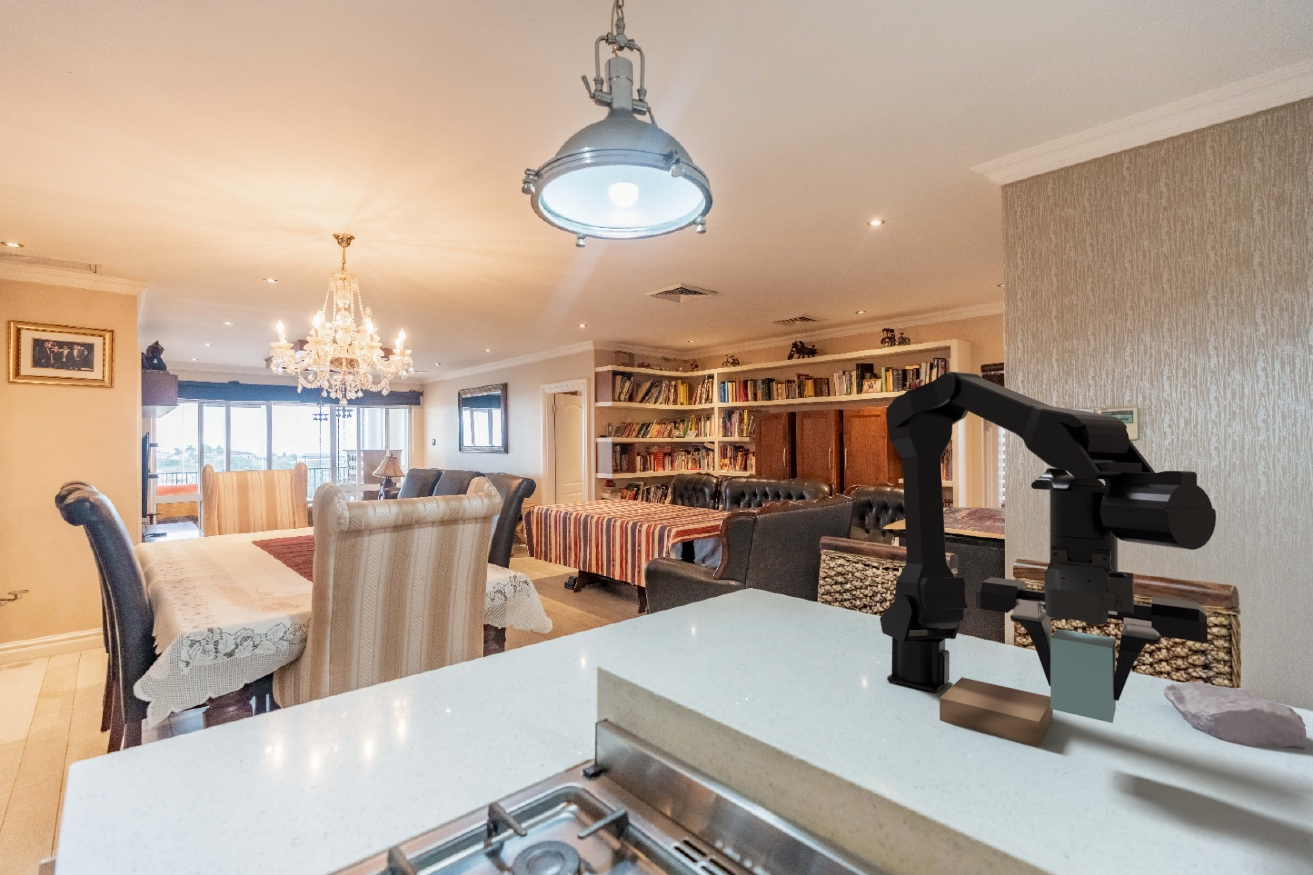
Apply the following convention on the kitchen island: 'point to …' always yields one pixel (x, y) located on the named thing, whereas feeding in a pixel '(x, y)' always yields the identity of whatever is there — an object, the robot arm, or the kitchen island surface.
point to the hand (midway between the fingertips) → (1083, 692)
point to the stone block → (1237, 715)
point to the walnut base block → (997, 710)
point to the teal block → (1083, 674)
